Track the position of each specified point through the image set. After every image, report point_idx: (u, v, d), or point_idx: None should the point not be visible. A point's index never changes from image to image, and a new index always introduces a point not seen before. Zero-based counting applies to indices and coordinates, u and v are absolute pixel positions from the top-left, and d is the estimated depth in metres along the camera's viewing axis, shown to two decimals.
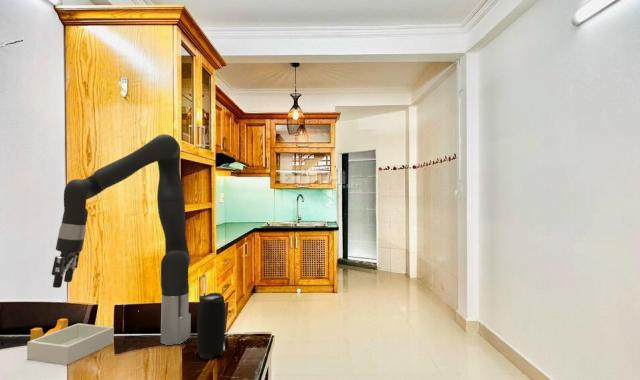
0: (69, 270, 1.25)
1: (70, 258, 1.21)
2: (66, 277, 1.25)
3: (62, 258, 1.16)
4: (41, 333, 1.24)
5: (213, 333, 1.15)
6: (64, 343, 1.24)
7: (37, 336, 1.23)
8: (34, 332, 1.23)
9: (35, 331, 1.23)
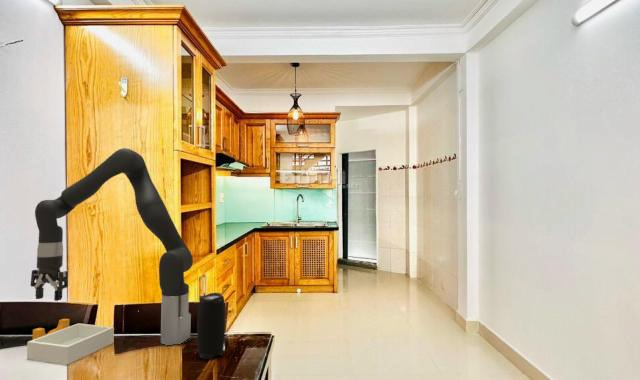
0: (40, 287, 1.30)
1: None
2: (39, 294, 1.30)
3: (66, 272, 1.29)
4: (43, 333, 1.24)
5: (213, 333, 1.15)
6: (64, 343, 1.24)
7: (39, 336, 1.23)
8: (36, 332, 1.23)
9: (37, 331, 1.22)
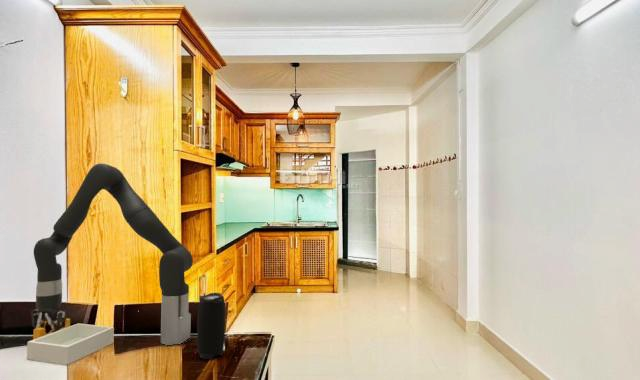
0: (42, 327, 1.30)
1: None
2: None
3: (66, 312, 1.28)
4: (44, 333, 1.24)
5: (213, 333, 1.15)
6: (64, 343, 1.24)
7: (40, 336, 1.23)
8: (36, 332, 1.23)
9: (38, 331, 1.23)
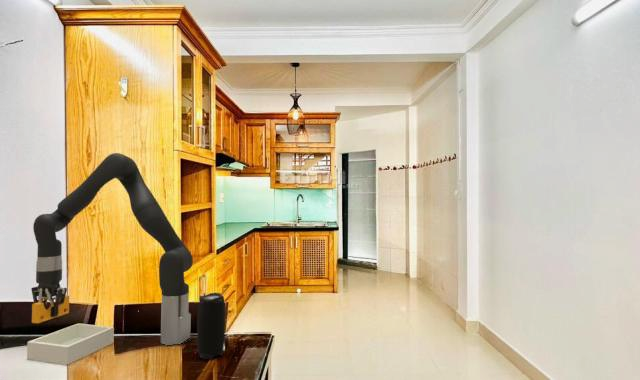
0: None
1: None
2: None
3: (66, 289, 1.28)
4: (42, 308, 1.25)
5: (213, 333, 1.15)
6: (64, 343, 1.24)
7: (38, 310, 1.23)
8: (35, 306, 1.23)
9: (37, 305, 1.23)
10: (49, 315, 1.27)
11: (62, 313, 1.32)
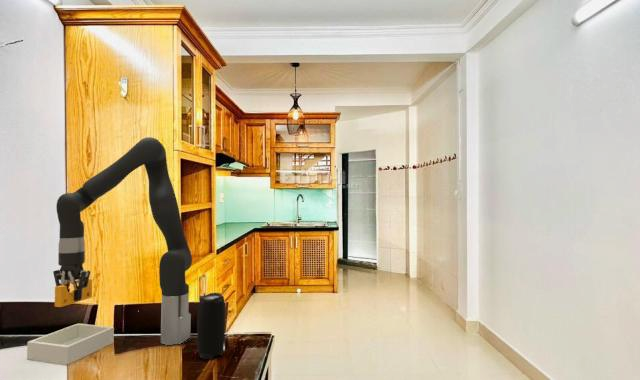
0: None
1: None
2: None
3: (89, 272, 1.23)
4: (66, 291, 1.19)
5: (213, 333, 1.15)
6: (64, 343, 1.24)
7: (62, 293, 1.17)
8: (58, 289, 1.17)
9: (59, 288, 1.17)
10: (72, 299, 1.21)
11: (85, 297, 1.26)
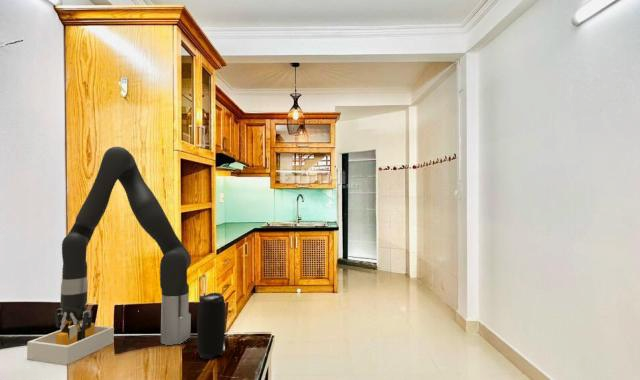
0: (66, 328, 1.22)
1: None
2: None
3: (92, 312, 1.21)
4: (67, 338, 1.17)
5: (213, 333, 1.15)
6: None
7: (63, 342, 1.15)
8: (59, 337, 1.15)
9: (60, 336, 1.15)
10: None
11: None
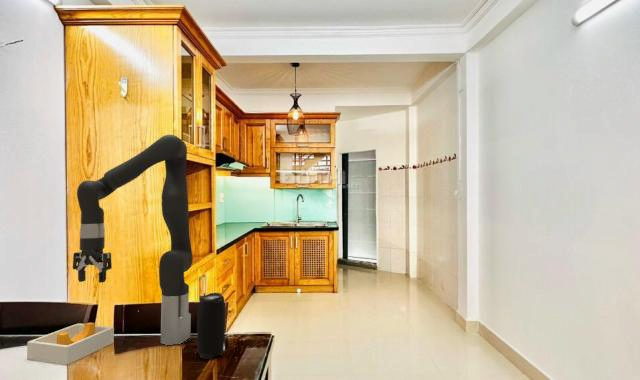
0: (82, 270, 1.28)
1: None
2: (81, 277, 1.28)
3: (110, 253, 1.27)
4: (67, 338, 1.17)
5: (213, 333, 1.15)
6: None
7: (63, 342, 1.15)
8: (60, 337, 1.15)
9: (61, 336, 1.15)
10: None
11: None
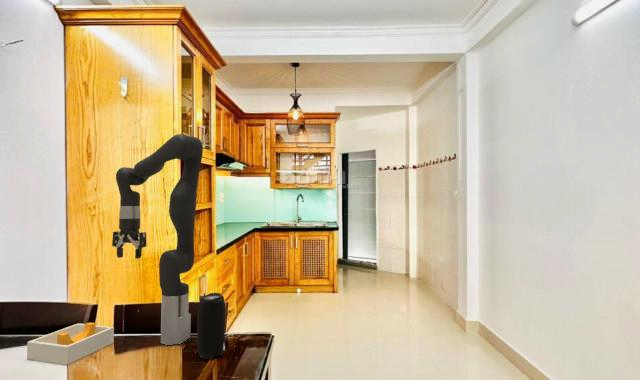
0: (120, 247, 1.44)
1: None
2: (119, 253, 1.43)
3: (145, 233, 1.42)
4: (68, 338, 1.17)
5: (213, 333, 1.15)
6: None
7: (64, 342, 1.15)
8: (60, 337, 1.15)
9: (62, 336, 1.15)
10: None
11: None
